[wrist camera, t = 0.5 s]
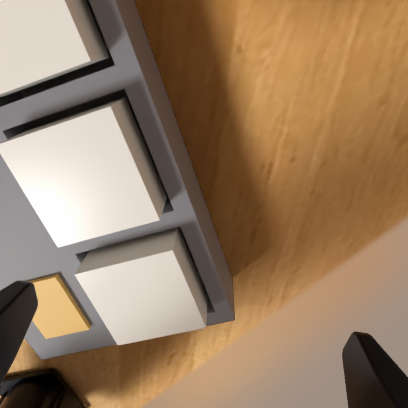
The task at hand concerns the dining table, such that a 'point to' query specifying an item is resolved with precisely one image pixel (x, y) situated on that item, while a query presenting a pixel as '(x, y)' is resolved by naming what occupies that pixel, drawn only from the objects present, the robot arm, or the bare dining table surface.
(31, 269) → the key panel
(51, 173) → the key middle
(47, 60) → the key
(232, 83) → the dining table surface
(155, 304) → the key
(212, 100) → the dining table surface
